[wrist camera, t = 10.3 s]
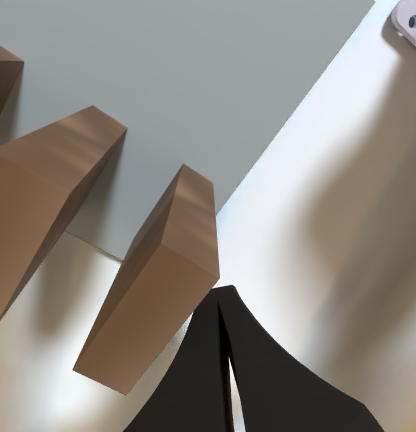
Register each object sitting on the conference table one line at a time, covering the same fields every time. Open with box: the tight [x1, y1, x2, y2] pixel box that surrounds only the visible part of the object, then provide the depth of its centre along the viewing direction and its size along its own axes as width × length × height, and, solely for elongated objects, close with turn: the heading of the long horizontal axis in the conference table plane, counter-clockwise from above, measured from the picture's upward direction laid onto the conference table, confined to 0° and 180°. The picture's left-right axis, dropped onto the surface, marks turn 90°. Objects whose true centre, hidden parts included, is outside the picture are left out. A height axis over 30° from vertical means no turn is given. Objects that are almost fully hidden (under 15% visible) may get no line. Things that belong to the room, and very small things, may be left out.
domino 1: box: [0, 105, 128, 320], centre depth 12 cm, size 2×5×9 cm, turn 145°
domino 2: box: [73, 163, 220, 395], centre depth 14 cm, size 2×5×9 cm, turn 145°
